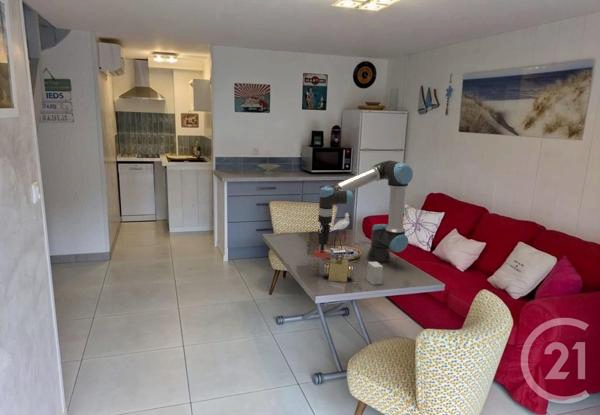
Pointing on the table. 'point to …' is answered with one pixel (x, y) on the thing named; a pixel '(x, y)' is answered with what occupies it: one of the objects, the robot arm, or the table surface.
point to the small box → (374, 273)
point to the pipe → (351, 270)
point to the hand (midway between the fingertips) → (322, 255)
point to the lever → (328, 255)
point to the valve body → (338, 270)
